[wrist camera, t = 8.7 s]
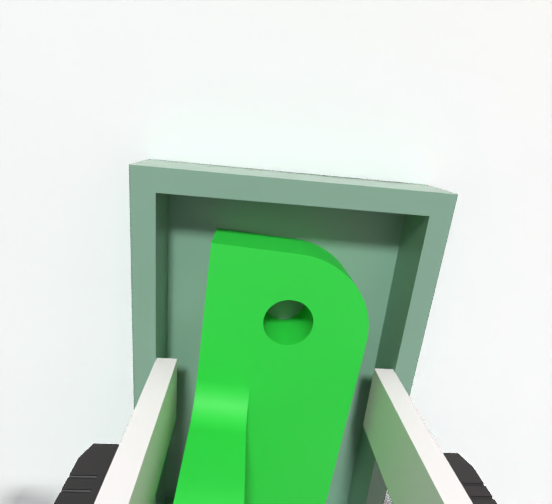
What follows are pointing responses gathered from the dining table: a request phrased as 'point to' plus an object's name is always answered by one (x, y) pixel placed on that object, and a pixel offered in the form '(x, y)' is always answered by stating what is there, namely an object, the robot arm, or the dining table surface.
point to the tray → (292, 224)
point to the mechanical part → (271, 373)
